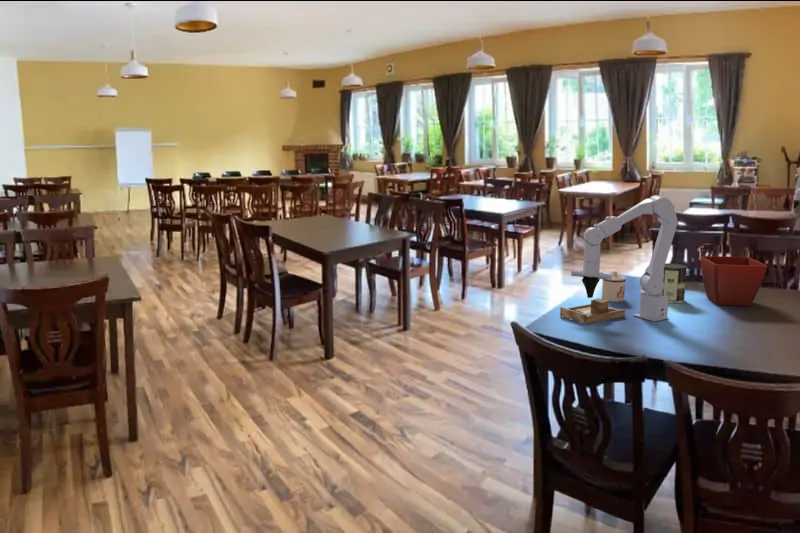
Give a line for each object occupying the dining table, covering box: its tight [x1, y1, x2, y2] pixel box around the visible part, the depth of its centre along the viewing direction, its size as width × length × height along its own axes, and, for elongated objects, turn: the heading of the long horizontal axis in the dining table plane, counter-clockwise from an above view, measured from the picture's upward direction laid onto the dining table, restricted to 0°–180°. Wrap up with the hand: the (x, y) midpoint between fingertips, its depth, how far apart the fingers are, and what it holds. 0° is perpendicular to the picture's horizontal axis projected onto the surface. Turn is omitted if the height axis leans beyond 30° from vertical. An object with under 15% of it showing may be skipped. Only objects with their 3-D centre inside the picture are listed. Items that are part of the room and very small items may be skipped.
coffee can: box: [662, 262, 688, 304], centre depth 279 cm, size 10×10×14 cm
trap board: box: [559, 303, 626, 325], centre depth 255 cm, size 12×20×4 cm, turn 121°
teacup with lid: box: [601, 270, 627, 303], centre depth 281 cm, size 12×9×12 cm
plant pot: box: [699, 255, 768, 307], centre depth 275 cm, size 19×19×17 cm
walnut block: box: [590, 298, 610, 314], centre depth 253 cm, size 4×4×4 cm
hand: (590, 297), depth 256 cm, fingers closed
